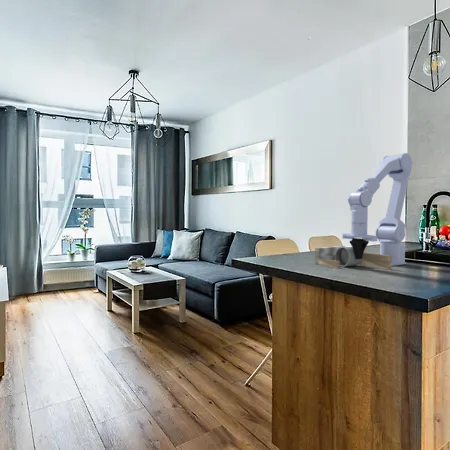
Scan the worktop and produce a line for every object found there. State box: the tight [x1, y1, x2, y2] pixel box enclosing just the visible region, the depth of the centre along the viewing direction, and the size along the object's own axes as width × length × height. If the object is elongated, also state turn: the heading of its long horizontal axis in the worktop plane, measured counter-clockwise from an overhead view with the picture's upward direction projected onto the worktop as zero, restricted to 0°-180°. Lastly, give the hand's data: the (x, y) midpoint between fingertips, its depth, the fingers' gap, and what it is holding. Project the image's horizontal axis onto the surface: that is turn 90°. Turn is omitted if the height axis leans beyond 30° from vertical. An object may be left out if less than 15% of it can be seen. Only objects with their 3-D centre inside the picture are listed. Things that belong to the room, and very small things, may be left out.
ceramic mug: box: [334, 246, 363, 268], centre depth 143 cm, size 11×8×8 cm
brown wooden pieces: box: [314, 245, 392, 270], centre depth 140 cm, size 15×24×6 cm, turn 30°
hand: (358, 258), depth 137 cm, fingers closed
